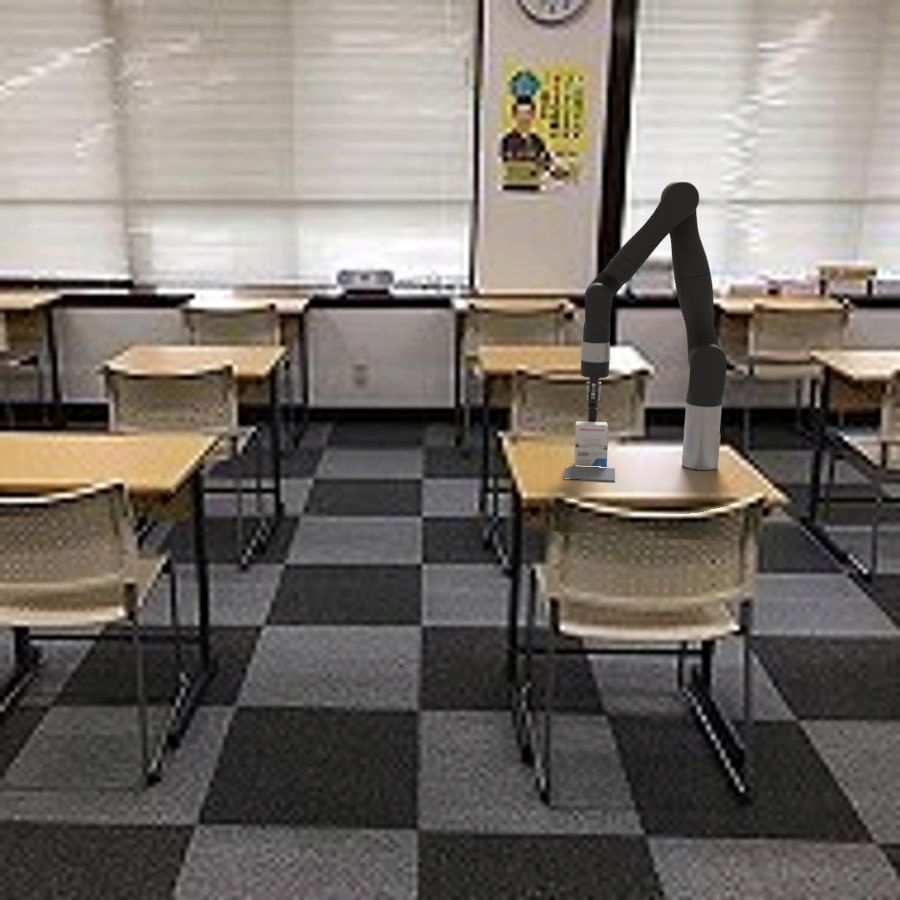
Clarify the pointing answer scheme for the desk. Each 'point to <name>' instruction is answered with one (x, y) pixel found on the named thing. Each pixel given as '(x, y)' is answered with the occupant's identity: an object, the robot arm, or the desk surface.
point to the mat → (590, 473)
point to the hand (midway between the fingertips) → (592, 422)
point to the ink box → (591, 443)
